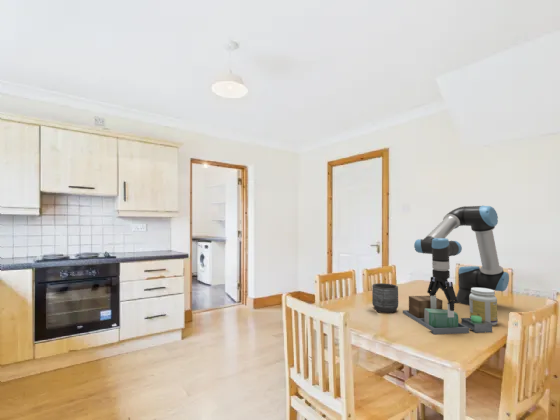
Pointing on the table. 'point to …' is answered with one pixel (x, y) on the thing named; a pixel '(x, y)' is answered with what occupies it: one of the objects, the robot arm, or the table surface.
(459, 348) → the table surface
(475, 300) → the supplement tub
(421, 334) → the table surface
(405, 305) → the table surface
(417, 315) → the walnut block
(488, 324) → the square metal sleeve
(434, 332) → the grey divided tray
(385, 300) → the planter
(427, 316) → the box
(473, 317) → the button
